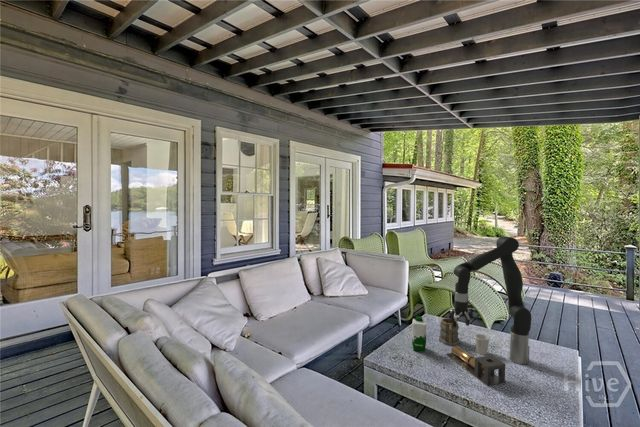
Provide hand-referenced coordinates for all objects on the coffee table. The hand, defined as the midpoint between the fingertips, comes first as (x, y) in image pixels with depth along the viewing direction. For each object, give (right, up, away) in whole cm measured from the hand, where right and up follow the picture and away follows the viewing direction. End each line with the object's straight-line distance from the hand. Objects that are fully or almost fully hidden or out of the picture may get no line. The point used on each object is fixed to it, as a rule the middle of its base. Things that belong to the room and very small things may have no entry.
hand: (460, 326), depth 193 cm
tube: (+2, -20, -4) cm, 21 cm away
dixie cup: (+17, -20, +10) cm, 28 cm away
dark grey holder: (+4, -21, -8) cm, 23 cm away
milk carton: (-21, -20, +14) cm, 32 cm away
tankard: (+2, -19, +22) cm, 30 cm away
